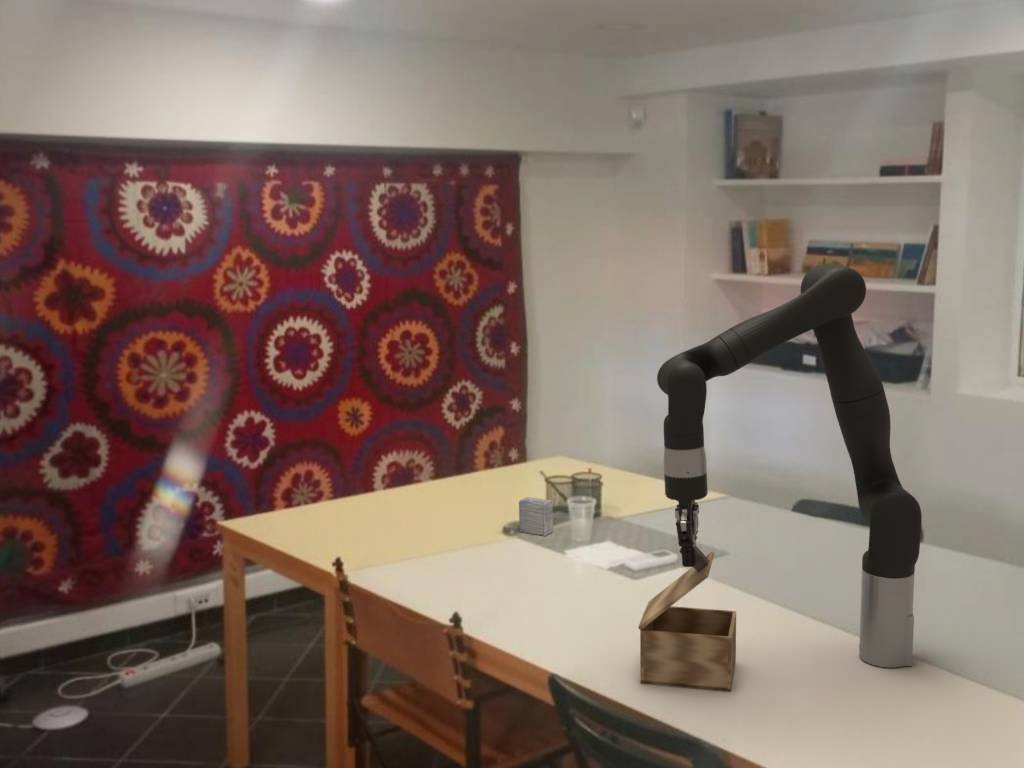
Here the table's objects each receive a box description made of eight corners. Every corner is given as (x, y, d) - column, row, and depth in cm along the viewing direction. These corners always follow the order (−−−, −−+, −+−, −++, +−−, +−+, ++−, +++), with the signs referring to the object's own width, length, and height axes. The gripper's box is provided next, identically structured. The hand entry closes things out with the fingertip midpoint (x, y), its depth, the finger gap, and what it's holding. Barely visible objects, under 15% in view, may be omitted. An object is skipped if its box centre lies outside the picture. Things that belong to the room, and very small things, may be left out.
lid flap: (714, 553, 205) (693, 531, 205) (708, 577, 193) (686, 552, 193) (650, 604, 210) (630, 581, 210) (640, 630, 197) (619, 606, 198)
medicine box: (553, 532, 290) (553, 500, 288) (544, 536, 286) (544, 504, 284) (527, 528, 294) (527, 496, 292) (519, 532, 290) (518, 500, 289)
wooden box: (735, 661, 207) (736, 611, 206) (730, 691, 195) (731, 638, 193) (650, 654, 211) (650, 604, 210) (640, 683, 199) (640, 630, 197)
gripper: (702, 480, 189) (707, 577, 192) (710, 461, 203) (713, 552, 205) (659, 480, 191) (663, 576, 194) (669, 461, 205) (673, 551, 207)
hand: (689, 563), depth 200 cm, fingers closed on lid flap, 2 cm apart
